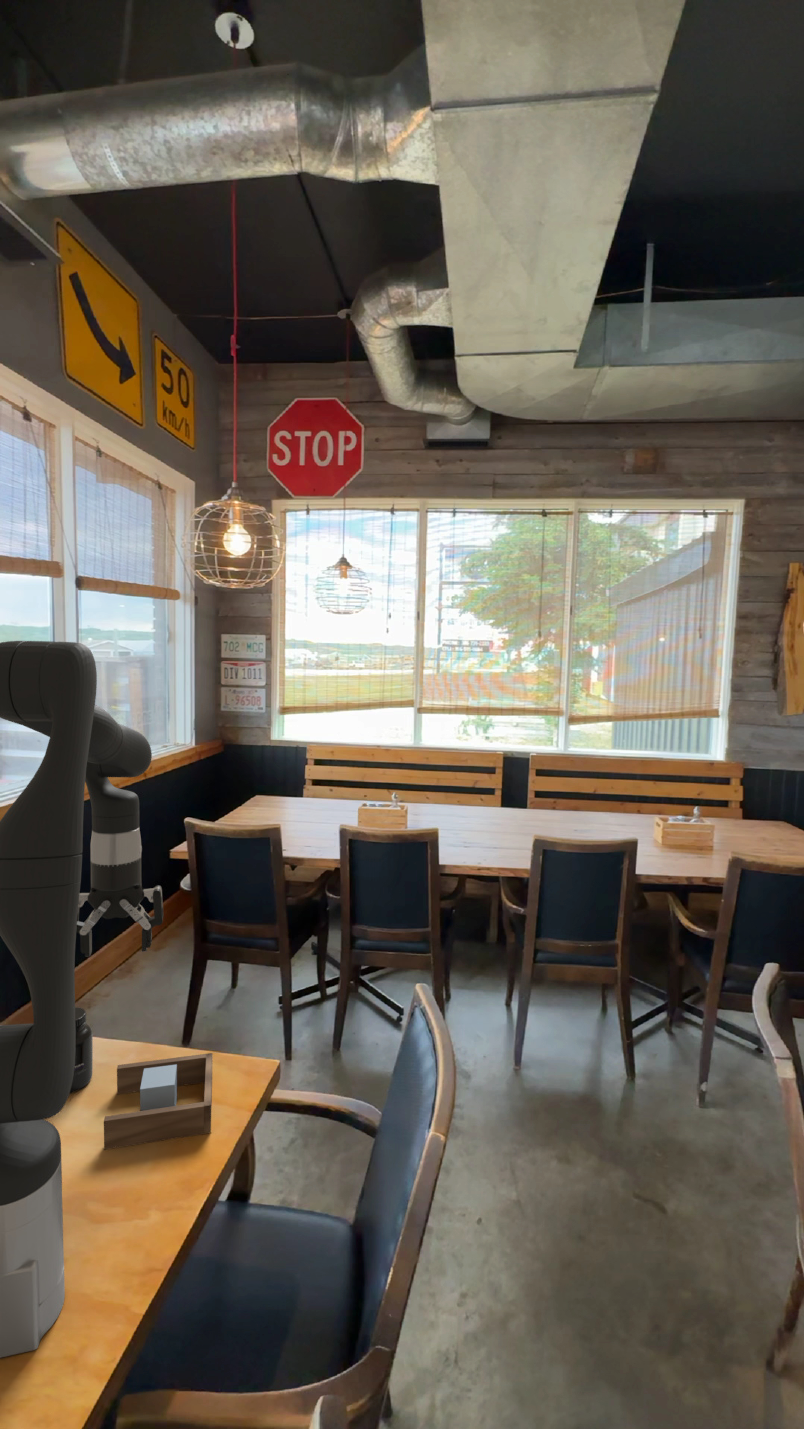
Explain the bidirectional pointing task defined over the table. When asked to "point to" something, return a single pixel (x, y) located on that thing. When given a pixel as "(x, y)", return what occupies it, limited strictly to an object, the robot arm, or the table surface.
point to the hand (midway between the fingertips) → (117, 952)
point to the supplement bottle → (82, 1051)
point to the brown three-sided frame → (161, 1120)
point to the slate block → (158, 1087)
